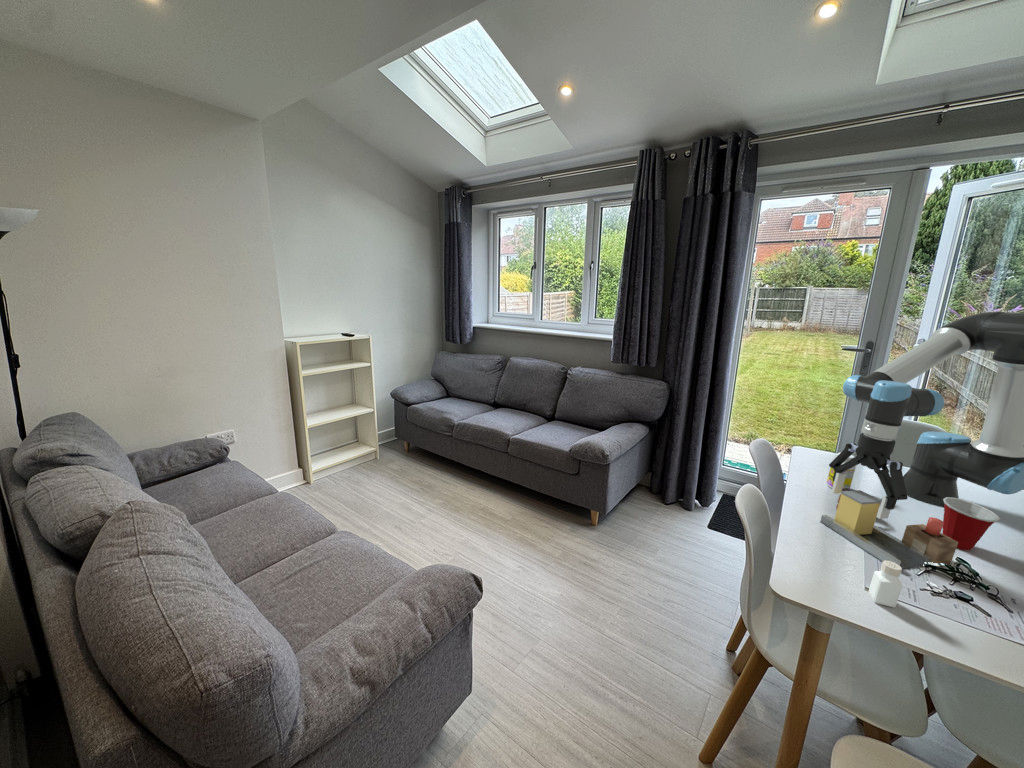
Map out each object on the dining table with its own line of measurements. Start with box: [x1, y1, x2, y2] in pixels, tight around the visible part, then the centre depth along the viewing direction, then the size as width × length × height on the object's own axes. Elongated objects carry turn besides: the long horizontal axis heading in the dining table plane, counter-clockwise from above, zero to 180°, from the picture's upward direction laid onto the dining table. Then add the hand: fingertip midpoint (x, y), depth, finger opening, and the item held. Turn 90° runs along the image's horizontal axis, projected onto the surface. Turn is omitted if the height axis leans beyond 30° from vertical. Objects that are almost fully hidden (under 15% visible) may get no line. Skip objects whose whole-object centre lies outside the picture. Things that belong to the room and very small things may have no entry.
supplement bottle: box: [826, 451, 857, 490], centre depth 144 cm, size 7×7×13 cm
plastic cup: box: [941, 497, 1001, 552], centre depth 113 cm, size 11×11×12 cm
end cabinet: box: [901, 523, 958, 566], centre depth 108 cm, size 6×8×7 cm
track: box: [820, 514, 931, 570], centre depth 114 cm, size 11×21×2 cm, turn 10°
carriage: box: [833, 489, 882, 535], centre depth 118 cm, size 7×6×11 cm
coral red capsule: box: [925, 516, 944, 536], centre depth 107 cm, size 3×3×4 cm
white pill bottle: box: [868, 560, 903, 608], centre depth 92 cm, size 4×4×10 cm
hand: (857, 504), depth 117 cm, fingers open, 13 cm apart
